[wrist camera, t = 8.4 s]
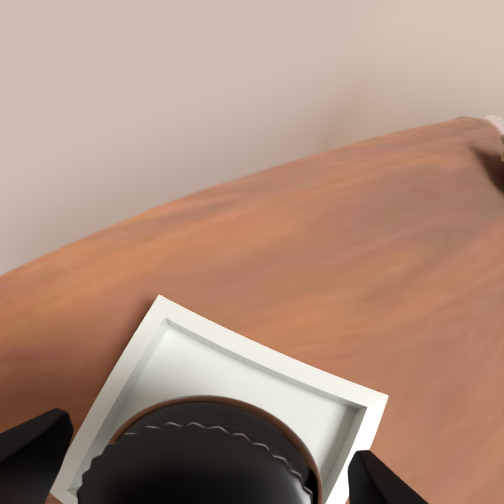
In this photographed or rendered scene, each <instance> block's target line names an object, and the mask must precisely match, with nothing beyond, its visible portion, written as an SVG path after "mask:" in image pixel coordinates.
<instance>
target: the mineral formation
mask: <svg viewBox="0 0 504 504" xmlns="http://www.w3.org/2000/svg"><path fill="white" fill-rule="evenodd" d="M501 140H502V143H503V144H504V134H503V135H502V136H501ZM501 161H503V162H504V152H503V153H502V158H501Z"/></svg>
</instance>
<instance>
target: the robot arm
mask: <svg viewBox="0 0 504 504" xmlns="http://www.w3.org/2000/svg"><path fill="white" fill-rule="evenodd" d="M72 436H73V425H72V422H71V419H70V416H69V413H68V412H67V411H66V410H63V409H60V408H54V409H52V410H50V411H48V412H46V413H44V414H41V415H39V416H37V417H35V418H33V419H31V420H29V421H26V422H24V423H22V424H20V425H18V426H15V427H13V428H11V429H9V430H7V431H4V432H2V433H0V504H44V503H45V501H46V499H47V497H48V494H49V492H50V490H51V488H52V486H53V484H54V482H55V480H56V478H57V476H58V474H59V471H60V469H61V467H62V464H63V461H64V458H65V455H66V452H67V450H68V447H69V444H70V441H71V439H72ZM347 475H348V488H349V502H350V504H429V503H428V502H426V501H425V500H424V499H423V498H422V497H421V496H419V495H418V494H417V493H416V492H415V491H414V490H413V489H412V488H410V487H409V486H408V485H407V484H406V483H405V482H404V481H403V480H401V479H400V478H399V477H398V476H397V475H396V474H395V473H394V472H393V471H392V470H390V469H389V468H388V467H387V466H386V465H385V464H384V463H383V462H382V461H381V460H380V459H379V458H377V457H376V456H375V455H374V454H373V453H372V452H371V451H370V450H357V451H356V452H355V453H354V455H353V457H352V459H351V461H350V463H349V465H348V469H347Z"/></svg>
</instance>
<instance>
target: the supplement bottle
mask: <svg viewBox="0 0 504 504" xmlns="http://www.w3.org/2000/svg"><path fill="white" fill-rule="evenodd" d="M76 494H77V499H78V504H322V502H323V490H322V482H321V477H320V473H319V470H318V467H317V465H316V462H315V460H314V458H313V456H312V454H311V452H310V451H309V449H308V448H307V446H306V445H305V443H304V442H303V441H302V440H301V438H300V437H299V436H298V435H297V434H296V433H295V432H294V431H293V430H292V429H291V428H290V427H289V426H288V425H287V424H285V423H284V422H283V421H282V420H280V419H279V418H277V417H276V416H274V415H273V414H271V413H269V412H267V411H266V410H264V409H262V408H260V407H257V406H255V405H253V404H250V403H247V402H245V401H241V400H238V399H234V398H230V397H224V396H217V395H186V396H180V397H175V398H170V399H166V400H163V401H160V402H157V403H155V404H153V405H151V406H148V407H146V408H145V409H143V410H141V411H139V412H138V413H136V414H135V415H133V416H132V417H131V418H129V419H128V420H127V421H126V422H125V423H124V424H122V426H121V427H120V428H119V429H118V430H117V431H116V432H115V434H114V435H113V436H112V438H111V439H110V441H109V442H108V444H107V445H106V447H105V448H104V450H103V452H102V454H101V455H98V456H96V457H94V458H92V461H91V465H90V469H88V470H87V471H85V472H84V473H83V474H82V485H81V486H80V487H79V489H78V490H77V492H76Z"/></svg>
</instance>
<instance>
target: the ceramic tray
mask: <svg viewBox="0 0 504 504" xmlns="http://www.w3.org/2000/svg"><path fill="white" fill-rule="evenodd" d="M186 395H217V396H224V397H230V398H234V399H238V400H241V401H245V402H247V403H250V404H253V405H255V406H257V407H260V408H262V409H264V410H266V411H267V412H269V413H271V414H273V415H274V416H276V417H277V418H279V419H280V420H282V421H283V422H284V423H285V424H287V425H288V426H289V427H290V428H291V429H292V430H293V431H294V432H295V433H296V434H297V435H298V436H299V437H300V438H301V440H302V441H303V442H304V443H305V445H306V446H307V448H308V449H309V451H310V452H311V454H312V456H313V458H314V460H315V462H316V465H317V467H318V470H319V473H320V477H321V482H322V490H323V502H322V504H345V502H346V500H347V498H348V496H349V488H348V475H347V469H348V465H349V463H350V461H351V459H352V457H353V455H354V453H355V452H356V451H357V450H369V448H370V446H371V443H372V441H373V438H374V436H375V433H376V430H377V428H378V425H379V422H380V419H381V417H382V414H383V411H384V408H385V405H386V402H387V399H388V395H386V394H383V393H380V392H377V391H374V390H372V389H369V388H366V387H363V386H361V385H358V384H355V383H353V382H350V381H347V380H345V379H342V378H340V377H337V376H334V375H332V374H329V373H327V372H324V371H322V370H319V369H317V368H314V367H312V366H310V365H307V364H305V363H302V362H300V361H298V360H295V359H293V358H290V357H288V356H286V355H284V354H281V353H279V352H277V351H274V350H272V349H270V348H268V347H265V346H263V345H261V344H259V343H256V342H254V341H252V340H250V339H248V338H245V337H243V336H241V335H239V334H237V333H235V332H233V331H230V330H228V329H226V328H224V327H222V326H220V325H218V324H216V323H214V322H212V321H210V320H208V319H206V318H204V317H202V316H200V315H198V314H196V313H194V312H192V311H190V310H188V309H186V308H184V307H182V306H180V305H178V304H176V303H174V302H172V301H170V300H168V299H166V298H164V297H162V296H161V295H158V297H157V299H156V300H155V302H154V303H153V305H152V306H151V308H150V310H149V311H148V313H147V314H146V316H145V318H144V319H143V321H142V322H141V324H140V326H139V327H138V329H137V330H136V332H135V334H134V335H133V337H132V339H131V340H130V342H129V344H128V345H127V347H126V349H125V350H124V352H123V354H122V355H121V357H120V359H119V360H118V362H117V364H116V365H115V367H114V369H113V370H112V372H111V374H110V376H109V377H108V379H107V381H106V382H105V384H104V386H103V388H102V389H101V391H100V393H99V395H98V396H97V398H96V400H95V402H94V404H93V405H92V407H91V409H90V411H89V412H88V414H87V416H86V418H85V420H84V422H83V423H82V425H81V427H80V429H79V431H78V433H77V434H76V436H75V438H74V440H73V442H72V444H71V446H70V448H69V450H68V452H67V453H66V455H65V458H64V461H63V464H62V467H61V469H60V471H59V474H58V476H57V478H56V480H55V482H54V484H53V486H52V488H51V490H50V493H51V494H52V495H53V496H54V497H56V498H57V499H58V500H59V501H61V502H62V503H63V504H78V499H77V494H76V492H77V490H78V489H79V487H80V486H81V485H82V474H83V473H84V472H85V471H87V470H88V469H90V465H91V461H92V458H94V457H96V456H98V455H101V454H102V452H103V450H104V448H105V447H106V445H107V444H108V442H109V441H110V439H111V438H112V436H113V435H114V434H115V432H116V431H117V430H118V429H119V428H120V427H121V426H122V424H124V423H125V422H126V421H127V420H128V419H129V418H131V417H132V416H133V415H135V414H136V413H138V412H139V411H141V410H143V409H145V408H146V407H148V406H151V405H153V404H155V403H157V402H160V401H163V400H166V399H170V398H175V397H180V396H186Z"/></svg>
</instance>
